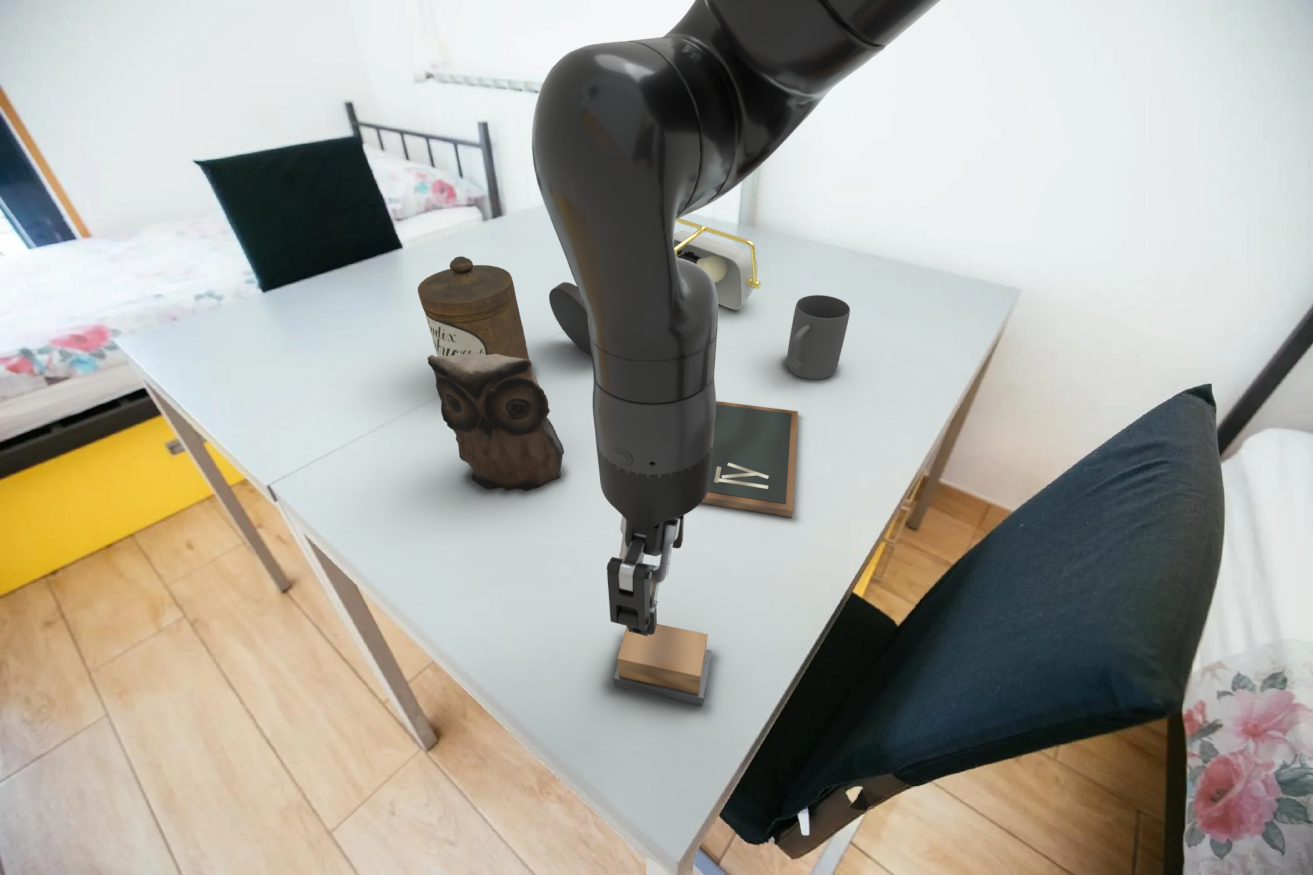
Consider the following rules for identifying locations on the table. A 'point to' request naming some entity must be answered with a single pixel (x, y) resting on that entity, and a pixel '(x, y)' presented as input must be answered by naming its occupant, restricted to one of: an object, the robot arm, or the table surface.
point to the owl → (498, 419)
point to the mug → (817, 336)
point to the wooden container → (473, 311)
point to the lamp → (718, 259)
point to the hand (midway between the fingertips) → (656, 582)
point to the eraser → (665, 663)
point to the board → (753, 459)
